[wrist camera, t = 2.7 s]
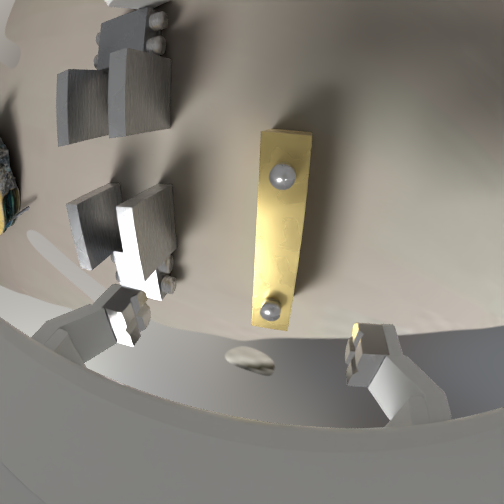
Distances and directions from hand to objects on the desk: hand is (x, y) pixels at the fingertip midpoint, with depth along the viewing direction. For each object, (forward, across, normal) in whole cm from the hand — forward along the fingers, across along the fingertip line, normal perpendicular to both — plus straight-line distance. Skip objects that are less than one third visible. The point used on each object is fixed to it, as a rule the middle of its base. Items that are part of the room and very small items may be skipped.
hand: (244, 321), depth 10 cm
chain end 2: (+10, +10, +3) cm, 14 cm away
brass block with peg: (+10, -1, 0) cm, 10 cm away
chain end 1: (+10, +10, -11) cm, 18 cm away
